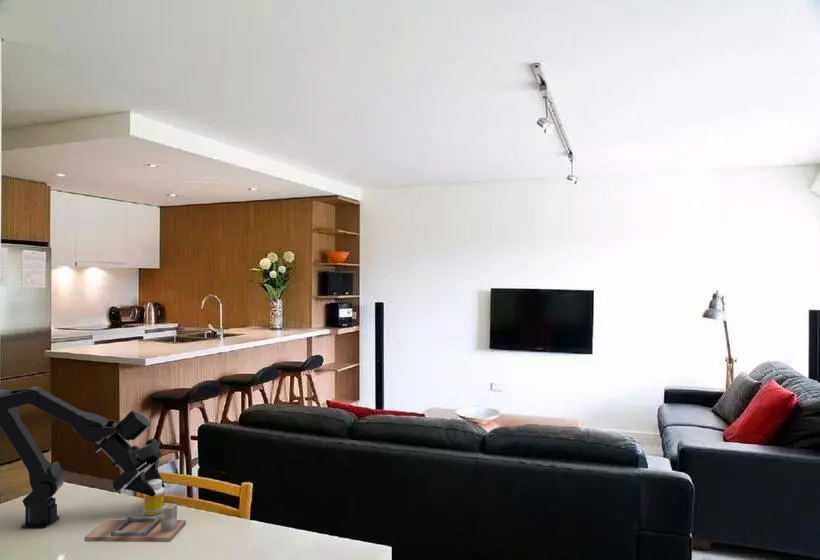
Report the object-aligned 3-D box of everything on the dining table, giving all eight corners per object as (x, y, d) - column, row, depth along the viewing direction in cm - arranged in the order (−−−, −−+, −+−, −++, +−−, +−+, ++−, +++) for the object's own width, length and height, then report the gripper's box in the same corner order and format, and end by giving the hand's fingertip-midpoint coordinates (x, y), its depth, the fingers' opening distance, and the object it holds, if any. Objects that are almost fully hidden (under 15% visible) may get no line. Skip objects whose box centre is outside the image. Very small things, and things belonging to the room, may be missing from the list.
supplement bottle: (141, 514, 154) (141, 480, 154) (161, 509, 157) (161, 476, 157) (145, 520, 149) (146, 486, 149) (166, 515, 153) (166, 481, 153)
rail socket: (84, 540, 138) (84, 513, 138) (106, 523, 148) (106, 498, 148) (170, 541, 138) (170, 514, 138) (185, 523, 148) (186, 498, 148)
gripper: (124, 442, 144) (164, 484, 144) (156, 423, 162) (192, 460, 163) (94, 471, 144) (134, 513, 144) (129, 449, 162) (165, 486, 163)
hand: (158, 491), depth 153 cm, fingers closed on supplement bottle, 5 cm apart
